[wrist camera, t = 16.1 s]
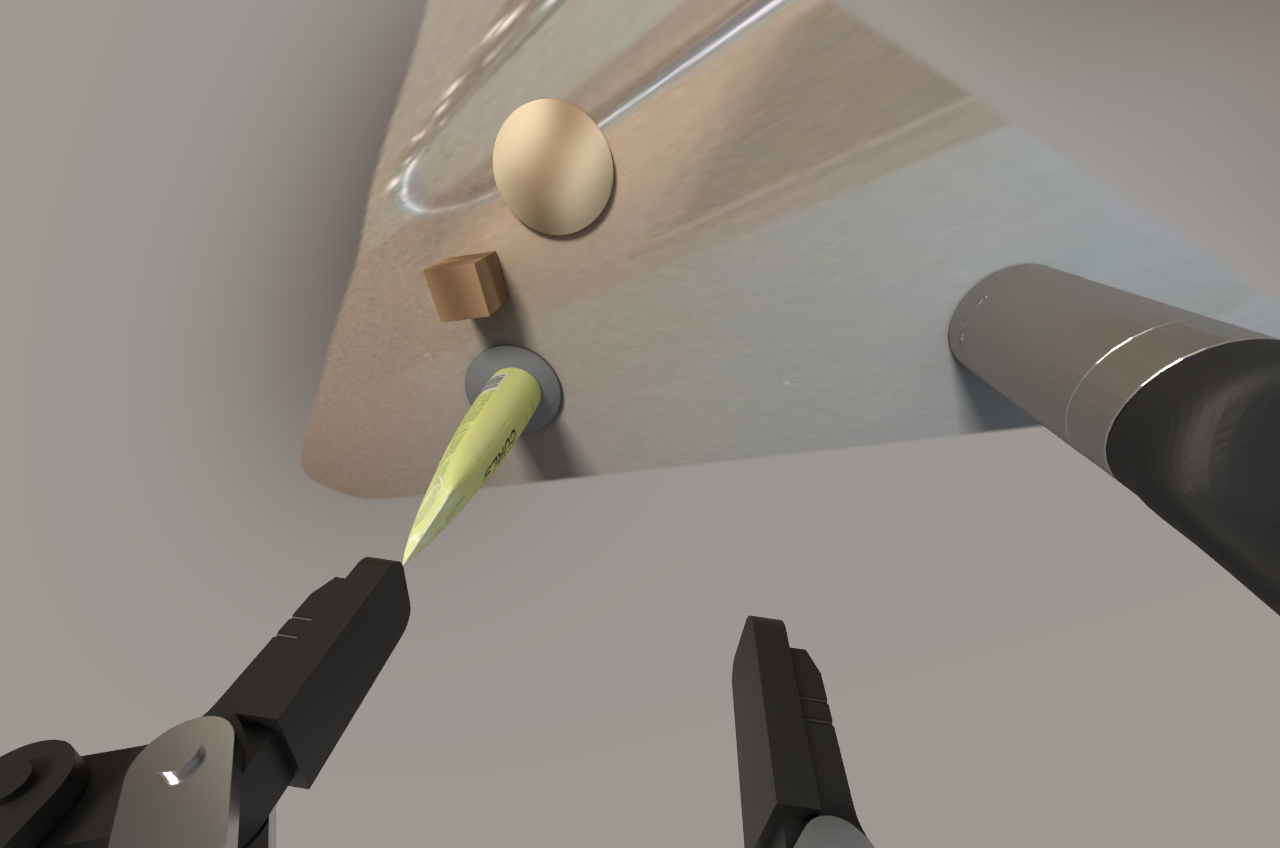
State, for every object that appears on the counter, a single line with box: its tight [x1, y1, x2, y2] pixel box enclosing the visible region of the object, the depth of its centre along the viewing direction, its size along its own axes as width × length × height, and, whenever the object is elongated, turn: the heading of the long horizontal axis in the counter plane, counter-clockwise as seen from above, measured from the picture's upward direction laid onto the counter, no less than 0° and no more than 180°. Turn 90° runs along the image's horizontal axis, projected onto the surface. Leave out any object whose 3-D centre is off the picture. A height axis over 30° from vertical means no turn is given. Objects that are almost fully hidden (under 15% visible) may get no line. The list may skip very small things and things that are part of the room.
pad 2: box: [465, 345, 561, 434], centre depth 46 cm, size 9×9×1 cm
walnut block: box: [423, 251, 509, 322], centre depth 39 cm, size 4×4×5 cm
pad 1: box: [493, 99, 614, 235], centre depth 37 cm, size 9×9×1 cm
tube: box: [402, 368, 541, 567], centre depth 37 cm, size 6×5×20 cm
